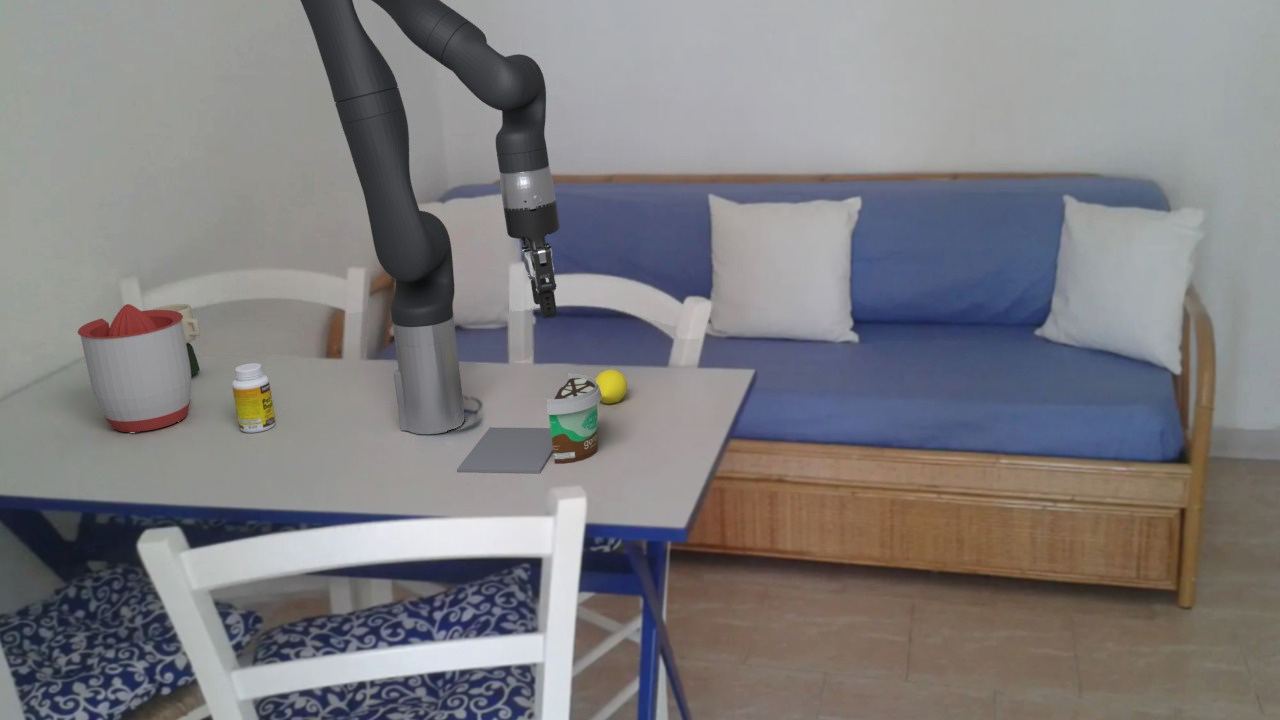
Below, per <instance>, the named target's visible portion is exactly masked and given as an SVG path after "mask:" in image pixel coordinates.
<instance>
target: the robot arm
mask: <svg viewBox="0 0 1280 720" xmlns="http://www.w3.org/2000/svg"><path fill="white" fill-rule="evenodd" d="M371 1H372V2H373V3H374V4H376V5H377V6H379V7H380V8H381V9H382V10H384V12H385V13H387V15H388V16H389V17H390V18H391V19H392V21H394V23H395V24H396V25H397V27H399V29H400V30H401V32H402V33H403V34H404V35H405V36H406V37H407V39H408V40H409V41H410V42H411V43H413V44H414V45H415V46H416V47H417V48H419V49H420V51H423V52H424V53H425V54H426V55H428V56H429V57H431V58H432V59H433V60H435V61H436V62H438V63H439V64H441V65H442V66H444V68H446V69H448V70H450V71H451V72H453V74H454V75H455V76H456V77H457V78H458V79H459V81H460V82H461V83H462V84H463V85H464V86H465V87H466V88H467V89H468V90H469V91H470V92H471V93H472V94H473V96H475V97H476V98H477V99H479V101H480V102H482V103H483V104H485V105H487V106H488V107H490V108H492V109H494V110H498V111H501V116H502V117H501V118H502V119H501V122H502V124H501V127H500V129H499V130H498V132H497V134H496V136H495V151H496V157H497V163H498V164H497V165H498V169H499V170H498V171H499V181H500V182H499V183H500V184H499V185H500V194H501V201H502V206H503V207H502V209H503V213H504V219H505V226H506V227H505V228H506V233H507V235H508V236H509V237H510V238H512V239H518V240H519V239H521V241H522V246H520V247H521V254H522V257H523V261H524V262H523V263H524V267H525V271H526V272H527V273H528V274H527V277H528V278H529V280H530V284H531V285H530V286H531V291H532V298H533V299H532V300H533V302H534V304H535V305H538V306H539V310H540V315H541V316H540V317H541V318H543V319H546V320H547V319H550V318H551V319H552V318H556V317H557V316H558V311H557V305H556V298H555V297H556V296H555V291H556V290H557V283H556V279H555V267H554V263H553V262H554V261H553V250H552V245H550V243H549V242H546V238H545V237H546V236H547V235H552V234H554V233H557V232H558V231H559V229H560V221H559V212H558V206H557V205H558V204H557V198H556V192H555V191H556V190H555V186H554V184H555V183H554V179H553V177H552V172H551V168H550V163H549V156H548V155H549V154H548V147H547V142H546V136H545V128H546V127H545V126H546V116H547V115H546V114H547V113H546V112H547V108H546V107H547V89H546V88H547V87H546V82H545V78H544V74H543V72H542V71H543V70H542V69H541V67H540V65H539V64H538V63H537V62H536V61H535V60H534V59H533V58H532V57H530V56H528V55H526V54H520V53H518V54H511V55H508V56H505V55H503V54H501V53H499V52H498V51H496V49H494V48H493V47H492V46H490V45H489V44H488V39H487V37H486V35H485V33H484V31H482V29H480V28H479V27H478V26H477V25H475V24H474V23H473V22H472V21H470V20H469V19H468V18H465V16H463V15H461V14H460V13H459V12H457V11H456V10H454V9H453V8H451V7H450V6H449V5H447V4H446V3H444V2H443V1H441V0H371ZM300 2H301V4H302V8H303V11H304V12H305V15H306V17H307V20H308V22H309V24H310V27H311V29H312V33H313V36H314V39H315V43H316V45H317V49H318V51H319V56H320V57H321V62H322V64H323V66H324V67H323V68H324V70H325V73H326V76H327V80H328V82H329V85H330V91H331V93H332V94H331V95H332V98H333V101H334V105H335V109H336V111H337V113H338V118H339V121H340V124H341V128H342V131H343V134H344V136H345V139H346V143H347V146H348V149H349V151H350V155H351V159H352V162H353V164H354V168H355V170H356V171H355V172H356V175H357V177H358V181H359V183H360V186H361V189H362V193H363V196H364V201H365V206H366V211H367V215H368V221H369V225H370V230H371V231H370V232H371V235H372V236H371V237H372V242H373V246H374V252H375V253H376V254H375V255H376V257H377V260H378V262H379V264H380V266H381V267H382V269H383V270H384V271H385V272H386V273H387V274H388V275H389V276H390V277H391V278H393V279H395V289H394V295H393V297H392V298H393V299H392V302H391V303H390V315H391V322H392V328H393V329H392V330H393V336H394V345H395V352H396V353H395V354H396V360H397V367H398V368H397V369H396V370H395V371H394V372H393V376H394V377H393V380H394V385H395V386H394V387H395V393H396V401H397V402H396V403H397V409H398V416H399V426H400V431H407V432H409V433H413V434H417V435H436V434H442V433H447V430H450V429H453V428H454V427H456V426H458V425H460V424H461V423H463V421H464V419H465V418H464V417H465V407H464V400H463V391H462V383H461V382H462V381H461V371H460V364H459V363H460V361H459V355H458V354H459V353H458V348H457V347H458V345H457V343H458V342H457V337H456V336H457V335H456V328H455V327H456V326H455V317H454V309H453V308H454V305H453V304H454V299H455V275H454V274H455V273H454V262H453V252H452V243H451V238H450V234H449V232H448V228H447V227H446V225H445V223H444V222H443V221H442V220H441V219H440V218H439V217H438V216H436V215H435V214H433V213H431V212H428V211H424V210H420V208H419V205H418V202H417V199H416V195H415V193H414V189H413V185H412V180H411V172H410V169H411V168H410V133H409V123H408V118H407V114H406V113H407V112H406V109H405V105H404V102H403V100H402V99H403V98H402V95H401V92H400V87H399V85H398V82H397V80H396V77H395V74H394V72H393V70H392V69H391V66H390V65H389V63H388V62H387V60H386V59H385V57H384V55H383V54H382V53H381V51H380V50H379V48H378V47H377V46H376V44H375V43H374V42H373V40H372V39H371V38H370V36H369V33H367V31H366V30H365V29H364V26H363V24H362V23H361V20H360V18H359V16H358V14H357V11H356V9H355V6H354V5H355V4H354V2H353V0H300ZM547 280H548V281H547ZM465 420H466V419H465Z"/></svg>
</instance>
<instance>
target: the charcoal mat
mask: <svg viewBox="0 0 1280 720" xmlns="http://www.w3.org/2000/svg"><path fill="white" fill-rule="evenodd" d="M552 454H554V453H553V445H552V437H551V429H550V427H491V426H490V427H489V428H488V429H487V431H486V432H485V433H484V434H483V435H482V437H481V438H480V439H479V441H477V443H476V444H475V446H474V447H473V448H472V449H471V450H470V452H469V453H468V455H467V456H466V457H465V458H464V459H463V460H462V462H461V463H460V464H459V465H458V467H457V468H456V472H457V473H499V474H500V473H506V474H507V473H508V474H509V473H510V474H513V473H514V474H541V472H542V471H543V469H544V467H545V466H546V465H547V462H549V459H550V457H551V456H552Z"/></svg>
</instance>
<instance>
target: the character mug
mask: <svg viewBox="0 0 1280 720" xmlns="http://www.w3.org/2000/svg"><path fill="white" fill-rule="evenodd" d="M151 310H171V311H176V312H179V313H181V314H182V316H183V319H182V324H183V330H184V335H185V340H186V346H187V351H188V357H189V362H190V369H191V377H192V376H194V375H195V374H197V373H199V372H200V371H201V370H200V365H199V362H198V359H197V356H196V353H195V350H194V347H193V345H192V344H191V342H193V341H195V340H196V337H199V336H201V328H200V324H199V323H200V321H199V320H198V319H197V318H194V316H193V310H192V307H191V305H190V304H188V303H187V304H186V303H174V304H172V303H171V304H167V305H162V306H157V307H155V308H152V309H151Z"/></svg>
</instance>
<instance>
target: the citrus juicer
mask: <svg viewBox="0 0 1280 720" xmlns="http://www.w3.org/2000/svg"><path fill="white" fill-rule="evenodd" d="M182 319H183V316H182V314H181V313H179V312H176V311H171V310H152V309H148V310H146V309H145V310H140V309H138V308H137V307H135V306H133V304H129V303H126V304H125V305H123V306H122V307H121V309H120V310H119V311H118V312H117V314H116V315H115V317H114V318H113V320H112V322H111V324H109V322H108V321H107V320H105V319H103V318H98V319H95V320H93V321H90V322H87V323H85V324H83V325H82V326H81V327H79V328H78V331H77V334H78V335H79V336H80V339H81V344H82V348H83V349H82V350H83V354H84V357H85V358H84V359H85V363H86V368H87V373H88V376H89V381H90V386H91V389H92V392H93V395H94V396H95V397H94V398H95V399H96V401H97V404H98V407H99V408H100V409H101V411H102V413H103V415H104V418H105V419H106V421H107V423H108V424H109V425H110V426H111V428H112V429H113V430H116V431H118V432H122V433H124V432H126V433H129V432H138V433H140V432H139V431H141V432H147V431H152V430H153V431H154V430H157V429H161V428H164V427H168V426H171V425H173V424H177V423H176V422H178V421H180V422H181V420H182V421H183V420H184V419H185V418H186V417H187V415H188V412H189V410H190V405H191V394H192V376H191V369H190V362H189V357H188V351H187V346H186V340H185V335H184V330H183V324H182ZM178 423H179V422H178Z"/></svg>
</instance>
